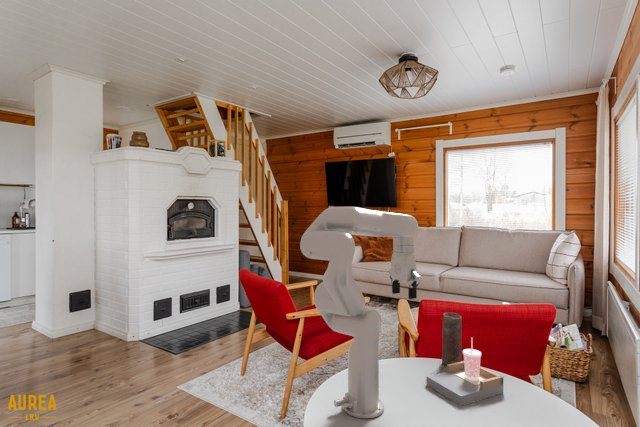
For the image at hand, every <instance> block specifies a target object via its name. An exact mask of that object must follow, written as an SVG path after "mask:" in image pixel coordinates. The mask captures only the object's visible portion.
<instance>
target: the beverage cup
mask: <svg viewBox="0 0 640 427" xmlns="http://www.w3.org/2000/svg"><path fill="white" fill-rule="evenodd" d="M473 338H474V337H470V339H471V340H470V343H471V344H470V345H471V346H470V348H465V349H463V350H462V355H463V361H464V368H465V378H467V379H469V380H474V381H475V380H479V375H480V367H481V357H482V352H481V351H480V350H478V349H474V348H473V344H474V343H473V341H474V340H473Z"/></svg>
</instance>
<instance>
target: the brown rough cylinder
mask: <svg viewBox="0 0 640 427" xmlns="http://www.w3.org/2000/svg"><path fill="white" fill-rule="evenodd" d="M462 317H463V316H462V315H460V314H459V313H456V312H451V311H449V312H444V313H443V314H442V347H441V348H442V350H441V351H442V353H441V363H442V364H444V365H446V366H447V365H448V364H452V363H457V362H461V361H462V355H463V352H462V351H463V350H462V348H463V347H462V335H463V333H462V327H463V326H462V320H463V318H462Z"/></svg>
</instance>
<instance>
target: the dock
mask: <svg viewBox="0 0 640 427" xmlns="http://www.w3.org/2000/svg"><path fill="white" fill-rule="evenodd" d="M426 386H428V387H429V388H431V389H433V390H434V391H436V392H437V393H439V394H441V395H442V396H444V397H446V398H447V399H450V401H453V402H454V403H456V404H457V405H459V406H465V405H468V404H472V403H475V402H478V401H479V402H480V401H481V400H482V401H483V400H485V399H489V398H493V397H496V396H499V395H503V394H504V376H502V375H500V374H498V373H496V372H494V371H491V370H489V369H487V368H484V367H482V366H480V375H479V380H475V381H474V380H469V379H467V378H465V368H464V360H461V362H457V363H452V364H448V365H446V371H444V372H439V373H435V374H432V375H428V376H427V375H426Z"/></svg>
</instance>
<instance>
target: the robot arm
mask: <svg viewBox="0 0 640 427" xmlns="http://www.w3.org/2000/svg"><path fill="white" fill-rule="evenodd" d="M418 231H419V222H418V220H417V219H416V218H415V217H414V216H413V215H410V214H403V213H396V212H388V211H384V210H383V211H382V210H381V211H380V210H375V209H374V210H373V209H367V208H363V207H358V206H331V207H327V208H326V209H324V210H323V211H322V212H321V213H320V214H319V215H318V216H317V217H316V218H315V219H314V221H312V223H310V225H309V227H307V229H306V230H305V231H304V233H303V234H302V236H301V239H300V241H299V242H300V243H299V247H300V251H301V253H302V255H303V256H305V257H306V258H307V259H311V260H321V261H328V262H329V263H328V265H327V267H326V270H325V272H324V274H323V277H322V282H320V283H319V284H318V285H317V286H316V288H315V291H314V295H313V301H314V305H315V308H316V310H317V311H318V313H319V314H320V317H322V319H323V320H324V321H325V323H326V325H327V326H328V327H329V328H330V329H331V330H332V331H333V332H336V333H339V334H343V335H346V336H347V335H348V336H351V337H353V338H354V339H353V341H352V342H351V344H350V345H349V346H348V351H347V392H345V393H344V397H342V398H338V399H334V400H333V405H334V407H335V408H338V407H341V409H342V410H344V411H345V413H347V414H348V415H349V416H351V417H355V418H358V419H373V418H377V417H379V416H380V415H382V414H383V412H384V411H385V405H384V403H383V401H382V400H380V393H379V392H380V390H379V388H380V387H379V386H380V384H379V381H380V380H379V379H380V378H379V373H380V372H379V369H380V368H379V360H380V359H379V358H380V357H379V348H380V347H379V346H380V336H381V331H382V325H383V324H382V322H383V321H382V317H381V314H380V313H379V312H378V311H377V310H376V309H374V308H371V307H369V306H366V300H365V297H364V294H363V293H362V290H361V289H360V287H359V285H358V284H357V282H356V280H355V278H354V277H353V275H352V266H353V262H354V256H355V252H356V243H355V240H354V237H353V236H365V237H379V238H381V237H382V238H383V237H386V238H387V237H388V238H393V244H392V246H393V248H392V249H393V252H392V254H391V261H390V269H389V270H388V273H389V279H390V282H391V292H392V294H393V295H394V294H395V295H396V294H400V292H401V282H404V283H406V282H407V285H408V286H409V287H408V289H407V291H408V297H407V298H408V299H409V300H413V299H417V295H418V293H417V292H418V291H417V289H418V287H419V285H420V282H421V278H422V277H421V275H419V273H417V262H416V261H417V260H416V255H415V236H416V235H417V233H418Z"/></svg>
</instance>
